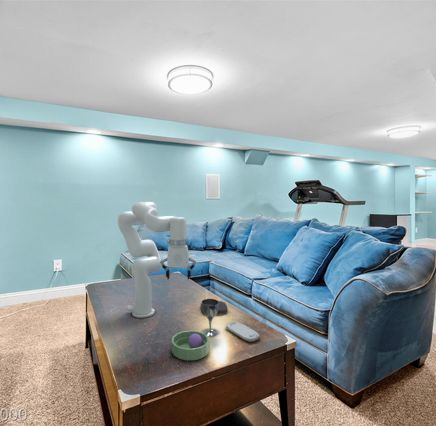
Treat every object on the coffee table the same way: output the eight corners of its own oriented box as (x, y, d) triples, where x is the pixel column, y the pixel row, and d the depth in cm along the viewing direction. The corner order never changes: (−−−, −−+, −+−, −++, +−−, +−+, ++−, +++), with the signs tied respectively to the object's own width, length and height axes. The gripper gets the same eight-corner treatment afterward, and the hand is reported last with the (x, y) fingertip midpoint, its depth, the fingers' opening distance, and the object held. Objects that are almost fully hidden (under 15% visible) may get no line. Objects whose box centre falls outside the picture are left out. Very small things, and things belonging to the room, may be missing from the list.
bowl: (170, 361, 106) (169, 349, 106) (173, 341, 122) (173, 330, 122) (209, 362, 106) (209, 349, 106) (208, 341, 122) (208, 330, 121)
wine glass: (213, 338, 124) (213, 306, 124) (199, 333, 128) (198, 302, 128) (221, 331, 131) (221, 300, 130) (207, 327, 135) (206, 297, 135)
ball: (185, 344, 111) (194, 331, 113) (184, 341, 117) (193, 329, 119) (197, 353, 111) (205, 340, 112) (195, 350, 116) (204, 338, 118)
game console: (223, 323, 134) (235, 319, 138) (223, 328, 134) (235, 324, 138) (249, 339, 118) (262, 334, 123) (249, 344, 118) (262, 339, 123)
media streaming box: (228, 314, 150) (228, 309, 150) (202, 315, 149) (202, 310, 149) (223, 304, 164) (223, 299, 164) (199, 305, 163) (199, 300, 163)
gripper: (158, 244, 125) (159, 280, 126) (196, 244, 124) (196, 280, 125) (161, 241, 132) (161, 276, 133) (196, 241, 132) (196, 276, 132)
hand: (178, 278), depth 129 cm, fingers open, 9 cm apart
